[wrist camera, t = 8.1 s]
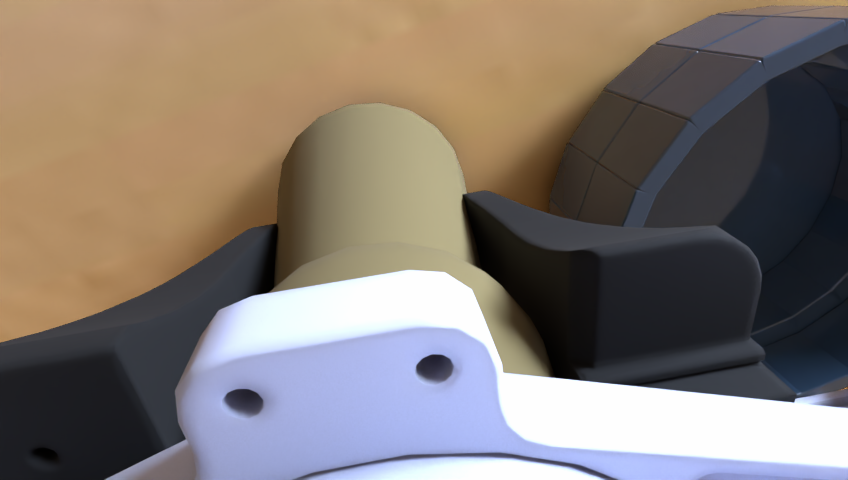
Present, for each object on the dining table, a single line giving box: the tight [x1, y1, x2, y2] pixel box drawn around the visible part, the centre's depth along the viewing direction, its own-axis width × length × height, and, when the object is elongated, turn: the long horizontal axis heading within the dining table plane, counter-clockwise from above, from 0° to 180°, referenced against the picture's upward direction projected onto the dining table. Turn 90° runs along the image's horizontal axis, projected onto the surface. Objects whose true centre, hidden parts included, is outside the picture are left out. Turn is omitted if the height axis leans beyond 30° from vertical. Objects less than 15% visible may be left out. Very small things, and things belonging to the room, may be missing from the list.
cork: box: [269, 103, 555, 378], centre depth 11 cm, size 6×6×11 cm
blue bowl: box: [550, 6, 848, 399], centre depth 16 cm, size 12×12×5 cm
